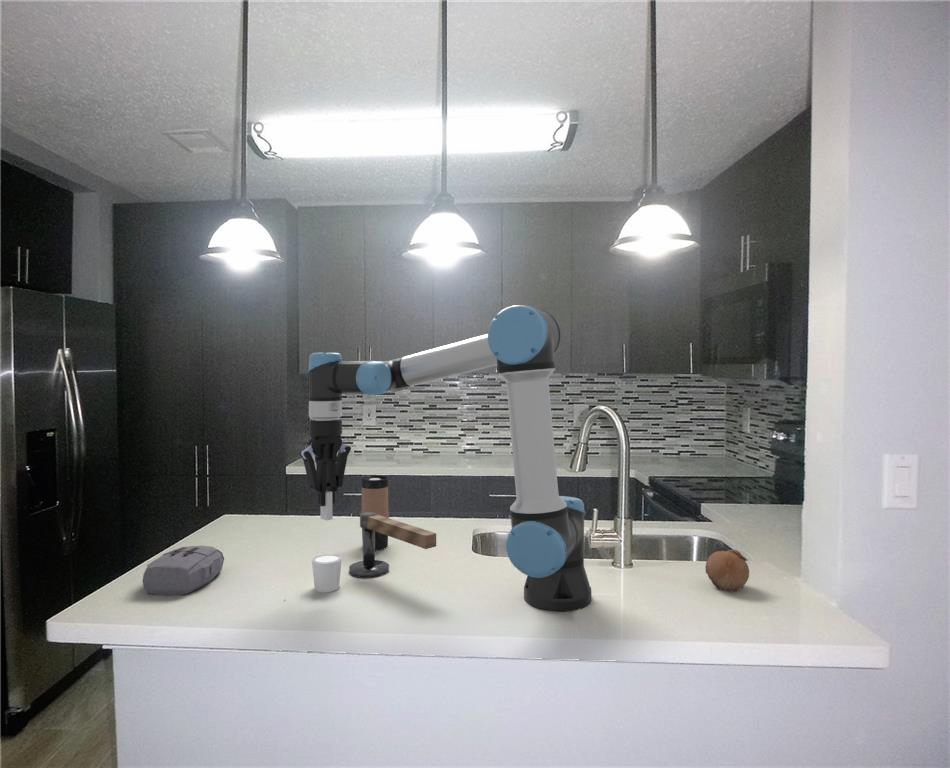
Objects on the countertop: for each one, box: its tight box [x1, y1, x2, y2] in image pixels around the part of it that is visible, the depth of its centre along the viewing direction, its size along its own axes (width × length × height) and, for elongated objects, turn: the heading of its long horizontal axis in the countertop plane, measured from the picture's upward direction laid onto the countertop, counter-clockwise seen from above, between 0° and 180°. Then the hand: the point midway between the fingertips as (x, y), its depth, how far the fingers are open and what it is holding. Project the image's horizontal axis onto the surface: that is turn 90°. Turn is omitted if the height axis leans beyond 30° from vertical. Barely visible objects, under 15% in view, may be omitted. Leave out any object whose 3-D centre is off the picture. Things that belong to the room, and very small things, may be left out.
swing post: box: [348, 528, 390, 579], centre depth 157 cm, size 10×10×11 cm
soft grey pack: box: [142, 545, 225, 596], centre depth 150 cm, size 15×8×20 cm
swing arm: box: [359, 512, 437, 550], centre depth 149 cm, size 27×4×3 cm, turn 43°
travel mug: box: [361, 474, 390, 551], centre depth 177 cm, size 8×8×20 cm
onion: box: [705, 549, 750, 592], centre depth 145 cm, size 10×9×10 cm
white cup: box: [311, 554, 342, 593], centre depth 146 cm, size 7×7×7 cm
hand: (326, 518), depth 145 cm, fingers closed
